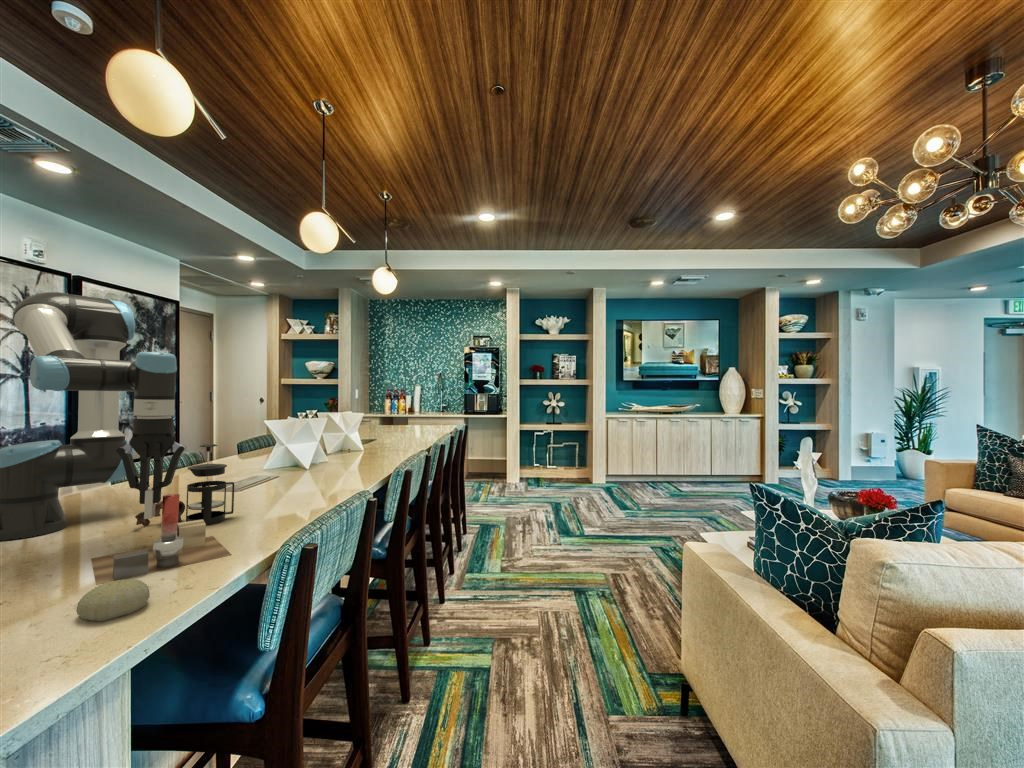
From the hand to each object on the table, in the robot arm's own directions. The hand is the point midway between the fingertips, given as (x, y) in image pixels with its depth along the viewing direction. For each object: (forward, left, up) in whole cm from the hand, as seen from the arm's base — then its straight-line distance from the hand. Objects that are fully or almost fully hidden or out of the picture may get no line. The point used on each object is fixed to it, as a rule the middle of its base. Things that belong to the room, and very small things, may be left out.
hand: (149, 517), depth 103 cm
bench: (+12, +1, -8) cm, 14 cm away
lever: (+10, +2, -4) cm, 11 cm away
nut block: (+7, +7, -6) cm, 12 cm away
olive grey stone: (+32, -8, -8) cm, 34 cm away
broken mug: (-21, +6, -8) cm, 23 cm away
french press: (-12, +14, -8) cm, 20 cm away
